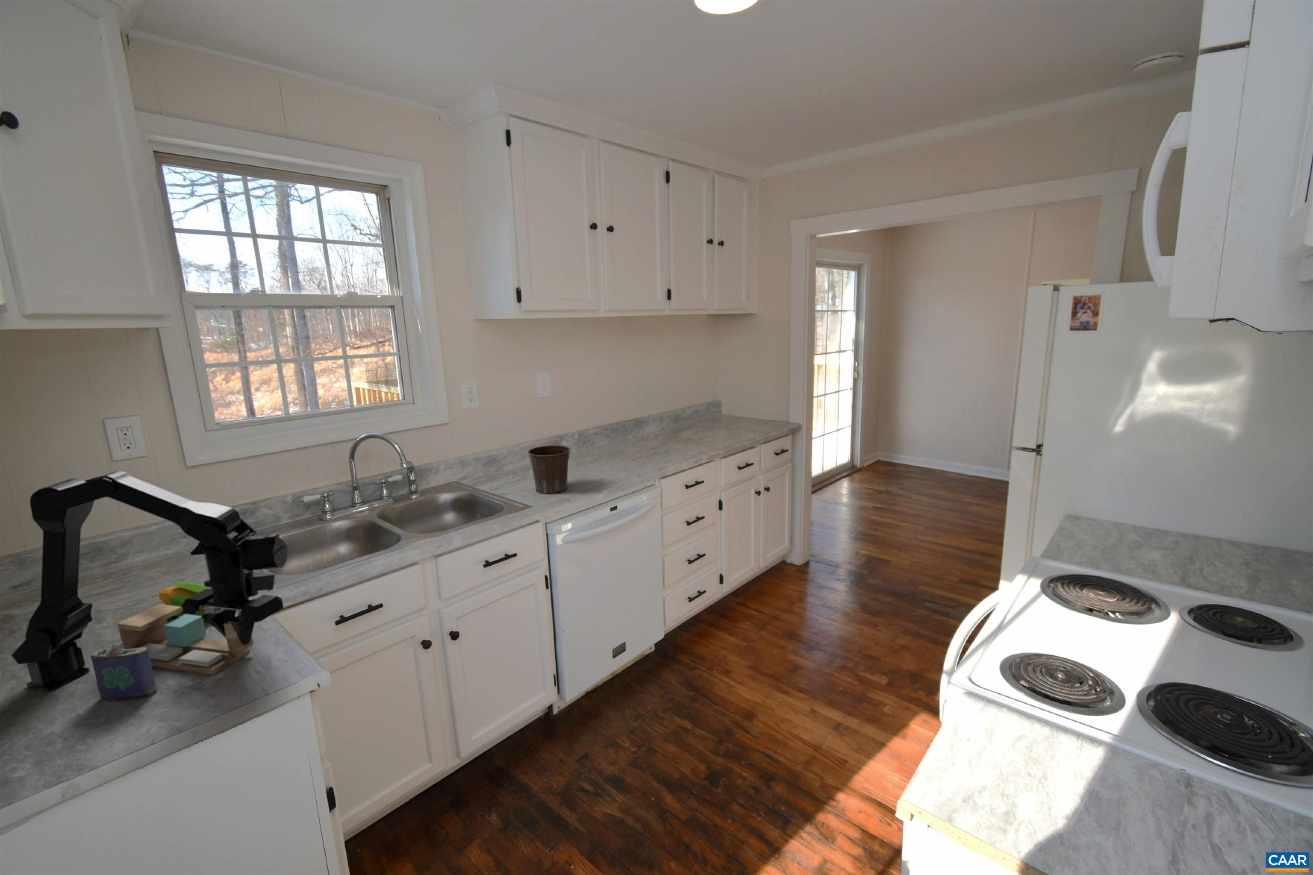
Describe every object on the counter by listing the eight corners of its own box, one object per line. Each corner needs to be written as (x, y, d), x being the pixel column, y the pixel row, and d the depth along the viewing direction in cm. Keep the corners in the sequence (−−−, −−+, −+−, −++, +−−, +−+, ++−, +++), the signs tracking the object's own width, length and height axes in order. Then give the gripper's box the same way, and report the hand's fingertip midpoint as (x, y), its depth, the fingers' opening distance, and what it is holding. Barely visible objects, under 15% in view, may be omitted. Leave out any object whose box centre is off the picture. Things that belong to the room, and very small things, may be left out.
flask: (161, 688, 107) (148, 636, 105) (149, 698, 104) (136, 646, 102) (108, 692, 107) (94, 640, 104) (94, 702, 104) (80, 649, 101)
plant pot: (568, 495, 217) (566, 454, 213) (526, 496, 217) (523, 455, 214) (575, 483, 233) (573, 444, 229) (536, 484, 233) (533, 445, 230)
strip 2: (241, 656, 115) (234, 625, 113) (165, 646, 119) (159, 615, 118) (254, 648, 117) (248, 617, 116) (180, 638, 122) (174, 608, 120)
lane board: (212, 675, 111) (204, 635, 109) (126, 661, 116) (117, 623, 114) (250, 651, 119) (242, 614, 117) (167, 640, 124) (159, 604, 122)
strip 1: (207, 666, 112) (206, 662, 111) (133, 655, 116) (132, 651, 116) (222, 657, 114) (221, 653, 114) (149, 647, 119) (148, 643, 119)
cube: (184, 647, 117) (180, 627, 116) (167, 644, 118) (163, 625, 117) (206, 635, 121) (202, 616, 120) (189, 633, 122) (185, 613, 121)
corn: (195, 596, 127) (138, 583, 134) (199, 628, 128) (142, 614, 135) (229, 583, 134) (174, 572, 141) (233, 614, 135) (177, 601, 142)
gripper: (299, 558, 118) (310, 626, 121) (227, 551, 122) (240, 618, 126) (251, 582, 108) (264, 656, 111) (173, 574, 112) (189, 646, 115)
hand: (240, 642), depth 116 cm, fingers closed on strip 2, 3 cm apart
